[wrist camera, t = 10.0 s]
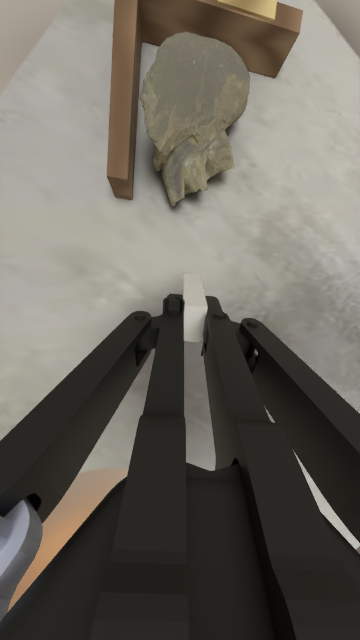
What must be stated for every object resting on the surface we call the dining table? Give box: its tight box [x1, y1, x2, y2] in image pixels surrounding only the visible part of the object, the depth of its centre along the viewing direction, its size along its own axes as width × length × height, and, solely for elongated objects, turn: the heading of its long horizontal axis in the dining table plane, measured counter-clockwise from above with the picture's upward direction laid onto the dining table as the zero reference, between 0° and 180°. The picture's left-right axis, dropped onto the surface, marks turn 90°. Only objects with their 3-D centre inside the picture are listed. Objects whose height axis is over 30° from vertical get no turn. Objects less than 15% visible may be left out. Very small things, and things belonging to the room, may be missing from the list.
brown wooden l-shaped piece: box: [107, 0, 303, 200], centre depth 21 cm, size 18×19×4 cm
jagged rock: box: [140, 31, 250, 206], centre depth 19 cm, size 14×10×10 cm
